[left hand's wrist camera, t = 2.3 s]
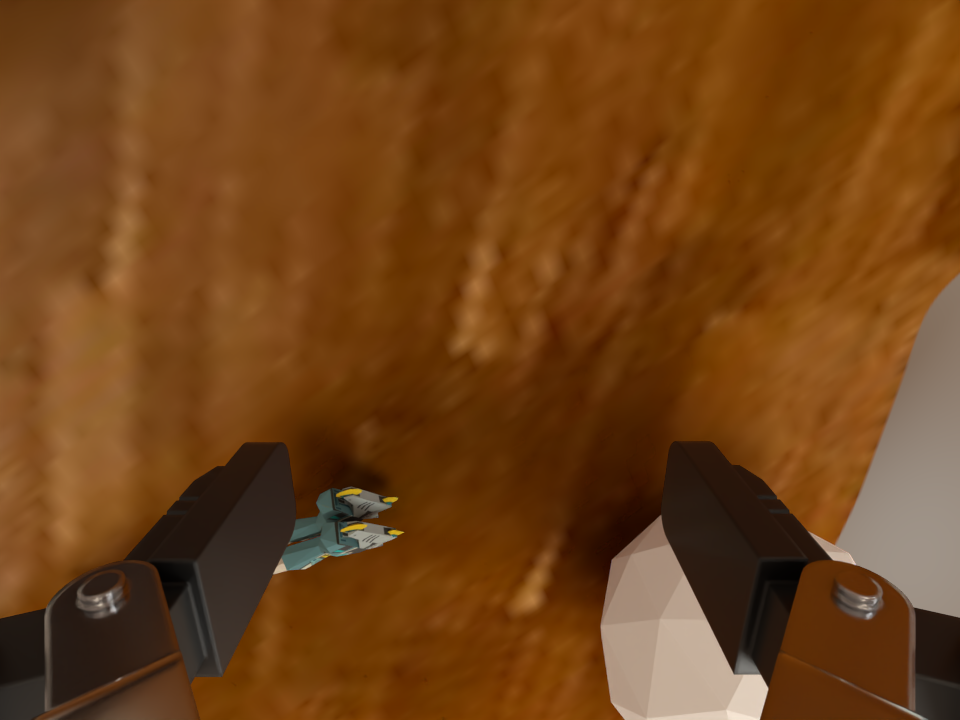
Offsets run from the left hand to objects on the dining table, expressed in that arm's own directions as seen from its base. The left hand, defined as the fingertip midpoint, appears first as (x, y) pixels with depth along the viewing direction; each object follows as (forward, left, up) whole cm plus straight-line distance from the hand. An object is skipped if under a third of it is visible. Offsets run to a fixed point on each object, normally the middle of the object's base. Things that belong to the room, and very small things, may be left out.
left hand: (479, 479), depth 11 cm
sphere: (+29, -13, -29) cm, 43 cm away
